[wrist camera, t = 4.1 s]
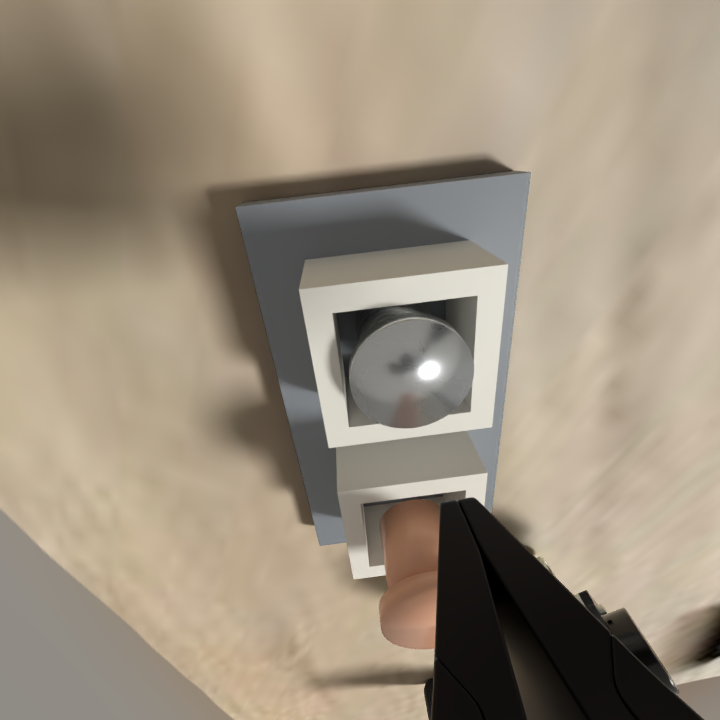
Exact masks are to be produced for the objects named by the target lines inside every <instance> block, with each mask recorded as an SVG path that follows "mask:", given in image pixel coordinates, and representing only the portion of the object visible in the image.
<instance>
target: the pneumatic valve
mask: <svg viewBox="0 0 720 720" xmlns="http://www.w3.org/2000/svg"><path fill="white" fill-rule="evenodd" d="M537 559H538V560H539V561H540V562H541V563H542V564H543V565H544V566H545V567H546V568H547V569H548V570H549V571H550V572H551V573H552V574H553V575H554V573H553V571H552V570H551V568H550V566H549V565H548V563H547V562H546V560H545V559H544V558H542V557H537ZM554 576H555V575H554ZM574 596H575V597H576V598H577V599H578V600H579V601H580V602H581V603H582V604H583V605H584V606H585V607H586V608H587V609H588V610H589V611H590V612H591V613H592V614H593V615H594V616H595V617H596V618H597V619H598V620H599V621H600V622H601V623H602V624H603V625H604V626H605V627H606V628H607V629H608V630H609V631H610V633H611V635H614V636H615V637H616V638H617V639H618V640H619V641H620V642H621V643H622V644H623V645H624V646H625V647H626V648H627V649H628V650H629V651H630V652H631V653H632V654H633V655H634V656H636V657H637V658H638V659H639V660H640V661H641V662H642V663H643V664H644V665H645V666H646V667H647V668H648V669H649V670H650V671H651V672H652V673H653V674H654V675H655V676H656V677H657V678H659V679H660V680H661V681H662V682H663V683H664V684H665V685H666V686H667V687H668V688H669V689H670V690H672V691H673V692H674V693H675V694H678V693H679V690H678V688H677V686H676V685H675V683H674V681H673V680H672V678H671V677H670V675H669V674H668V672H667V670H666V669H665V667H664V666H663V664H662V663H661V661H660V660H659V658H658V657H657V655H656V654H655V652H654V650H653V649H652V647H651V646H650V644H649V643H648V641H647V640H646V638H645V637H644V635H643V634H642V632H641V631H640V629H639V628H638V626H637V625H636V623H635V622H634V620H633V619H632V617H631V616H630V614H629V613H628V612H627V610H626V609H625V608H621V609H619V610H616V611H614V612H611V613H608V614H607V612H606V611H605V609H604V607H603V606H602V604H599V605H598V604H597V603H596V602H595V600H594V599H593V598H592V596H591V595H590V594H589V593H588V591H587V590H585V591H583V592H581V593H578V594H576V595H574Z"/></svg>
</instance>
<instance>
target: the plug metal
mask: <svg viewBox="0 0 720 720" xmlns="http://www.w3.org/2000/svg"><path fill="white" fill-rule="evenodd" d="M355 331H356V338H357V344H356V346H355V347H354V349H353V352H352V354H351V358H350V362H349V380H350V389H351V393H352V396H353V399H354V401H355V403H356V405H357V406H358V407H359V409H360V410H361V411H362V412H363V413H364V414H365V415H366V416H367V417H369V418H370V419H372V420H373V421H375V422H377V423H379V424H382V425H385V426H388V427H393V428H404V429H407V428H417V427H422V426H426V425H429V424H432V423H434V422H436V421H438V420H440V419H442V418H444V417H445V416H447V415H449V414H450V413H451V412H452V411H454V410H455V409H456V408H457V407H458V406H459V405H460V404H461V402H462V401H463V400H464V398H465V397H466V395H467V394H468V392H469V390H470V387H471V385H472V381H473V377H474V361H473V357H472V354H471V351H470V349H469V348H468V346H467V344H466V343H465V341H464V340H463V339H462V337H461V336H460V334H459V333H458V332H457V331H456V329H454V328H453V327H452V326H451V325H450V324H449V323H447V322H446V321H444V320H442V319H440V318H438V317H435V316H432V315H431V314H430V313H429V311H428V309H427V308H426V306H425V305H424V303H423V302H421V303H413V304H405V305H396V306H388V307H380V308H372V309H364V310H360V311H359V313H358V315H357V318H356V323H355Z"/></svg>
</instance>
